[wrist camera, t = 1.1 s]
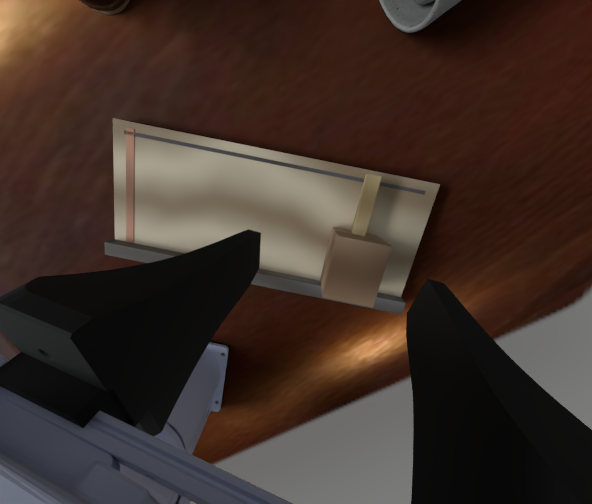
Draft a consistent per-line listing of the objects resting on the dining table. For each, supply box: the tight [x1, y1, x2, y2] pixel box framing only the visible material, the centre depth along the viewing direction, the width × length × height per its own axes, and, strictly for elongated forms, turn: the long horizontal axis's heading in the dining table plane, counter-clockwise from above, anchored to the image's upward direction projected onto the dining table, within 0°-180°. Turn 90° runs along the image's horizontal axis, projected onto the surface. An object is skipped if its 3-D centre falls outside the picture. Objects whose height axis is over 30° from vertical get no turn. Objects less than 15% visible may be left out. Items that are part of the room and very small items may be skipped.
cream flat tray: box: [105, 118, 440, 314], centre depth 22 cm, size 12×28×3 cm, turn 79°
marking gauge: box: [320, 174, 392, 308], centre depth 19 cm, size 10×4×4 cm, turn 169°
